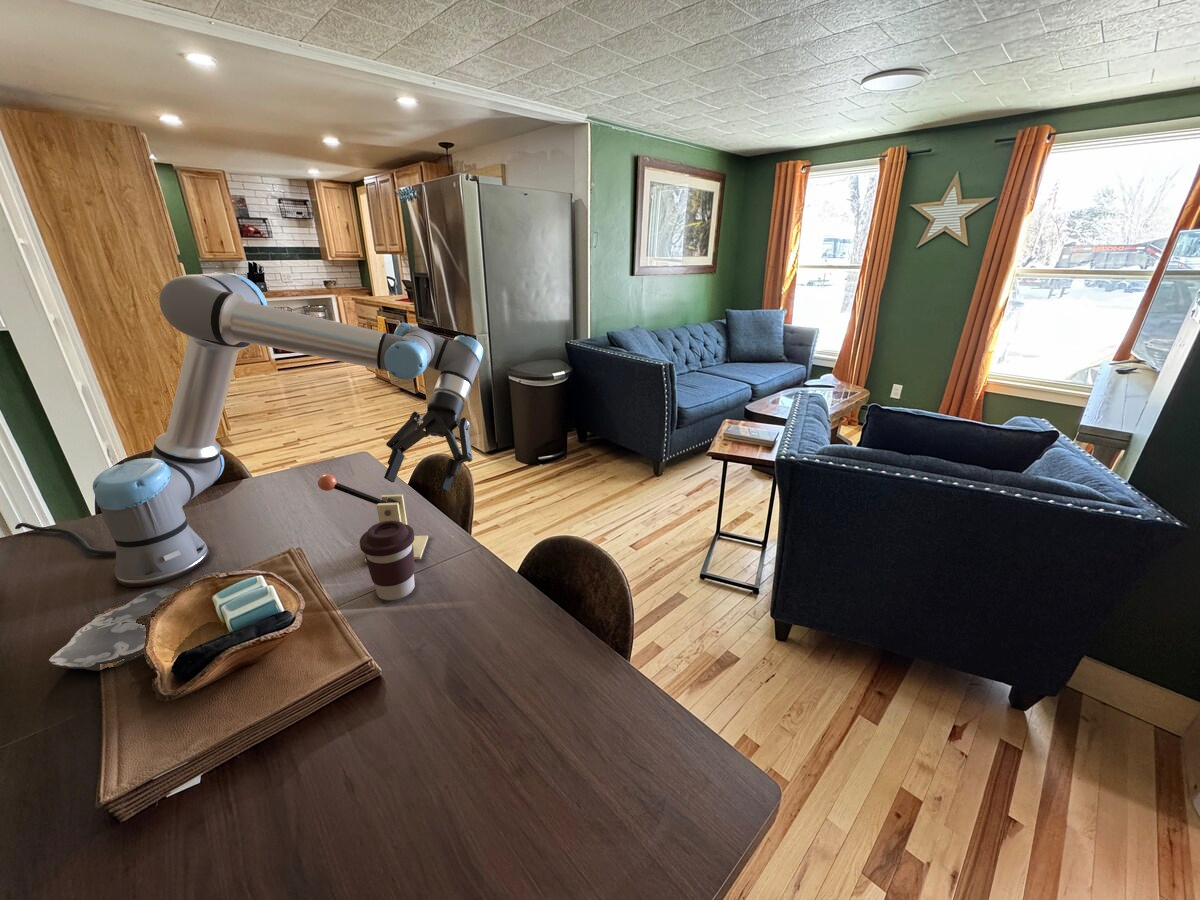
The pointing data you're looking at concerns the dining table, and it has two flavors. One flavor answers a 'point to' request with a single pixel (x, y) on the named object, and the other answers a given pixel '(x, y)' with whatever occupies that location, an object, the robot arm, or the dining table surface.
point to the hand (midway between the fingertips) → (415, 485)
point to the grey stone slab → (111, 635)
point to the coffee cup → (390, 558)
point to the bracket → (400, 520)
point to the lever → (348, 489)
